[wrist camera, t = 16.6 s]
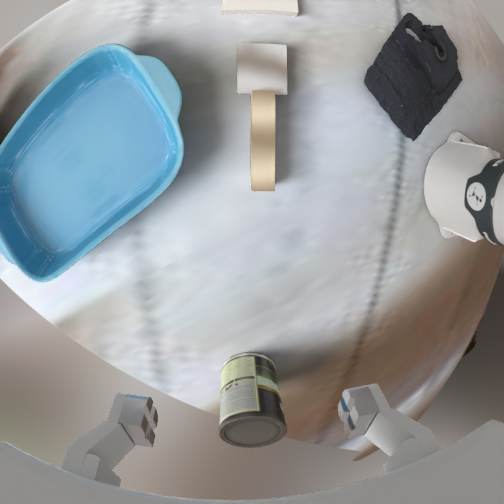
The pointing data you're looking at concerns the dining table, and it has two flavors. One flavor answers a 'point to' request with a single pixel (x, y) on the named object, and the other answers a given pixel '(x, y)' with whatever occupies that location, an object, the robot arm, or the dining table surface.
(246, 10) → the tile
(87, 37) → the dining table surface
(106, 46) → the casserole dish
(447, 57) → the black folded cloth
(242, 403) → the coffee can
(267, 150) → the turner
